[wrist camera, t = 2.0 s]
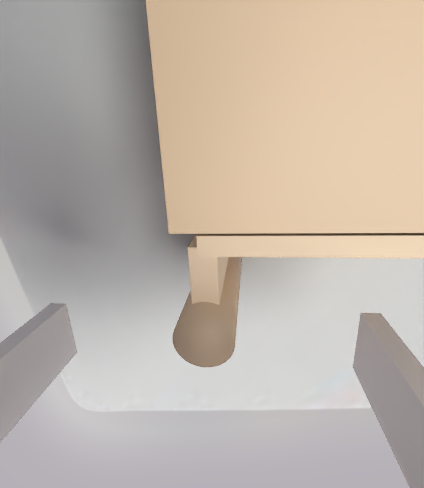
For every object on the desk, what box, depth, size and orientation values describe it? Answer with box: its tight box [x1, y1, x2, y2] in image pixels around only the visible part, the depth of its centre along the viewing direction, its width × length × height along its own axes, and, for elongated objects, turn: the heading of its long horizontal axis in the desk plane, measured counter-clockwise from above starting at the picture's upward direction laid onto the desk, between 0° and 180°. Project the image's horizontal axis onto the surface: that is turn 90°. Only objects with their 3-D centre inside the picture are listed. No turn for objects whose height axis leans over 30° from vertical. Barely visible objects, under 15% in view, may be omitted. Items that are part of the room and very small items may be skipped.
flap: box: [173, 233, 424, 367], centre depth 15 cm, size 6×15×10 cm, turn 93°
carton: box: [146, 0, 424, 234], centre depth 12 cm, size 12×14×12 cm
